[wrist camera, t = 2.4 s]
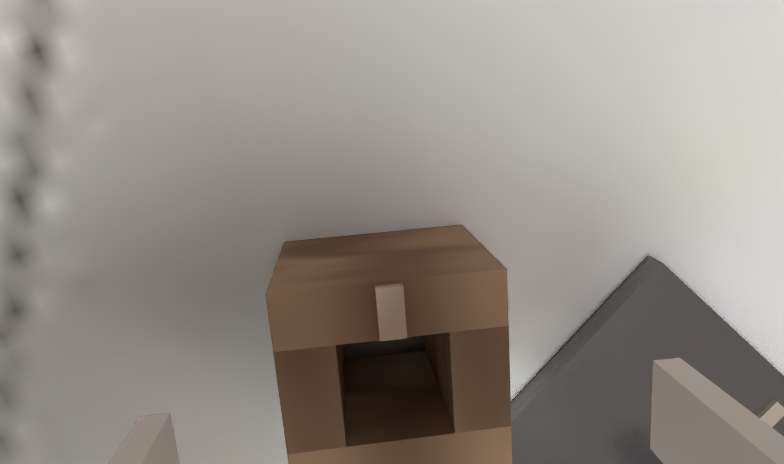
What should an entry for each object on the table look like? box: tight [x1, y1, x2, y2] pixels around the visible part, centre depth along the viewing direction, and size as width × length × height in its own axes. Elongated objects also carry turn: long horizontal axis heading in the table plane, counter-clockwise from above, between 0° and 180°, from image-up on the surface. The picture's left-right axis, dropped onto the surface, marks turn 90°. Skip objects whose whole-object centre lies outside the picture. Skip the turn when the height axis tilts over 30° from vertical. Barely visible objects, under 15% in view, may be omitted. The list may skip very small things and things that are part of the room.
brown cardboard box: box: [266, 225, 512, 464], centre depth 20 cm, size 7×7×6 cm
